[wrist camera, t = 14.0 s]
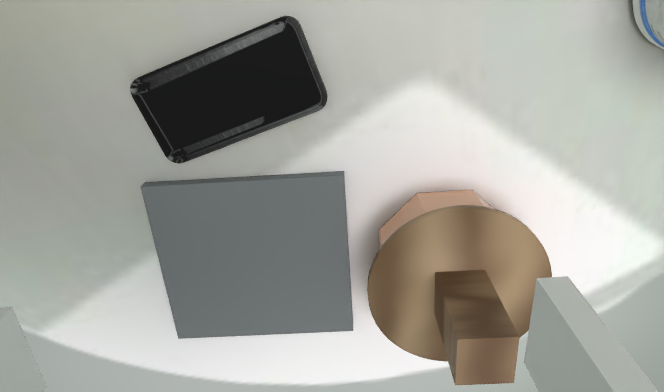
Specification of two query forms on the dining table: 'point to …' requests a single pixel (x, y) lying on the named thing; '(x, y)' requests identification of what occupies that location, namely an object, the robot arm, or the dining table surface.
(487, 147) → the dining table surface
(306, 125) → the dining table surface
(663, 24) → the supplement tub
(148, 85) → the phone
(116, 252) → the dining table surface
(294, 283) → the mat
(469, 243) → the lid
